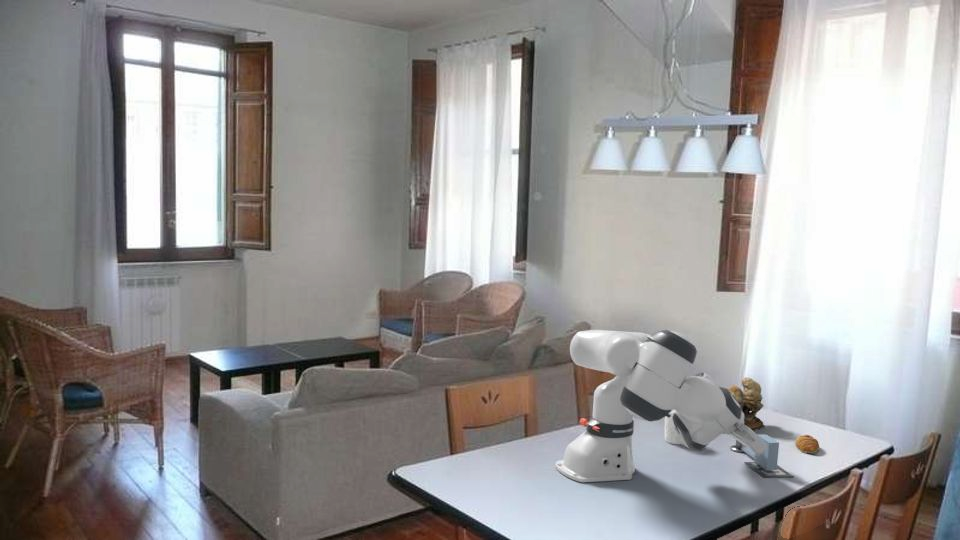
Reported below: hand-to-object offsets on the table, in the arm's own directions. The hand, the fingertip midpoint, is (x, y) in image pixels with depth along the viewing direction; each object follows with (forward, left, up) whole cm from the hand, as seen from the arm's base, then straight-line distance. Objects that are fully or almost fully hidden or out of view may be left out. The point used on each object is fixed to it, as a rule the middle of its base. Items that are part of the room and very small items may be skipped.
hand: (757, 451), depth 212 cm
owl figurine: (+27, +32, -5) cm, 42 cm away
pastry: (+29, +7, -5) cm, 31 cm away
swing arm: (+4, +5, -4) cm, 8 cm away
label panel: (+2, -2, -5) cm, 6 cm away
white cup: (-7, +26, -5) cm, 28 cm away
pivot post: (+7, +13, -5) cm, 16 cm away
